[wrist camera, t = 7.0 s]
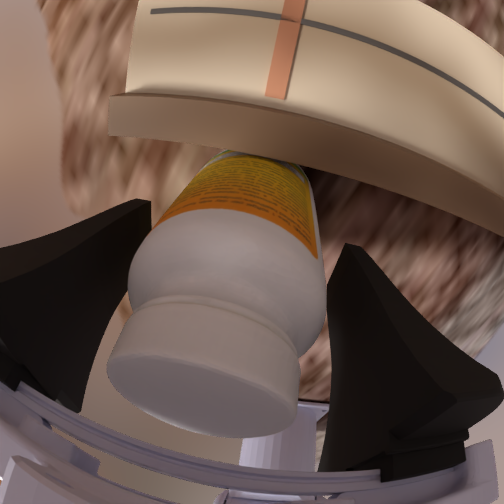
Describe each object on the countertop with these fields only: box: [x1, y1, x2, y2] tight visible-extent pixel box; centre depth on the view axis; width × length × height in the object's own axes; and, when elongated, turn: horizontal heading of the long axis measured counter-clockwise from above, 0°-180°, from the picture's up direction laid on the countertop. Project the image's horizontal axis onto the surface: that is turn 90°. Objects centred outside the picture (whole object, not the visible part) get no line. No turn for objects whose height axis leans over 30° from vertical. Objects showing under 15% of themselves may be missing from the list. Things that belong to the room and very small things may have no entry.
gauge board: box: [108, 0, 504, 237], centre depth 8 cm, size 8×21×2 cm, turn 80°
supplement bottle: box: [107, 149, 327, 438], centre depth 9 cm, size 5×5×10 cm
